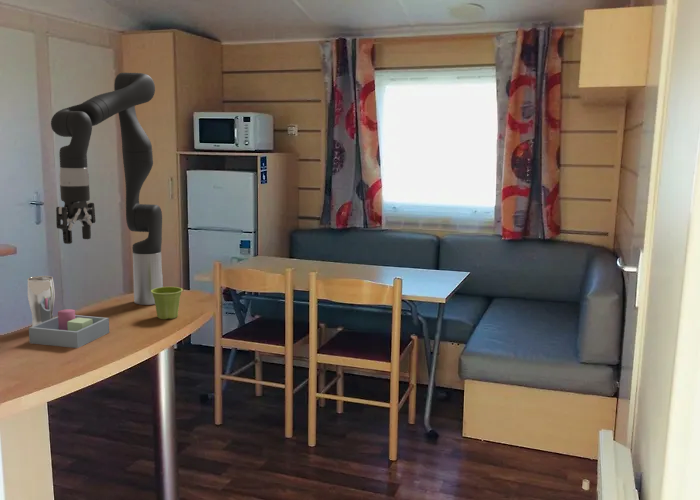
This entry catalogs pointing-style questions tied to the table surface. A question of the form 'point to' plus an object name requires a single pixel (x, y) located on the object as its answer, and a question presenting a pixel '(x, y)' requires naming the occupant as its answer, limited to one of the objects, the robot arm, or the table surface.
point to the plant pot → (167, 301)
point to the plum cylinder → (65, 318)
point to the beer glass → (41, 298)
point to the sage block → (79, 323)
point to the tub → (67, 333)
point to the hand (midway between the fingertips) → (77, 241)
